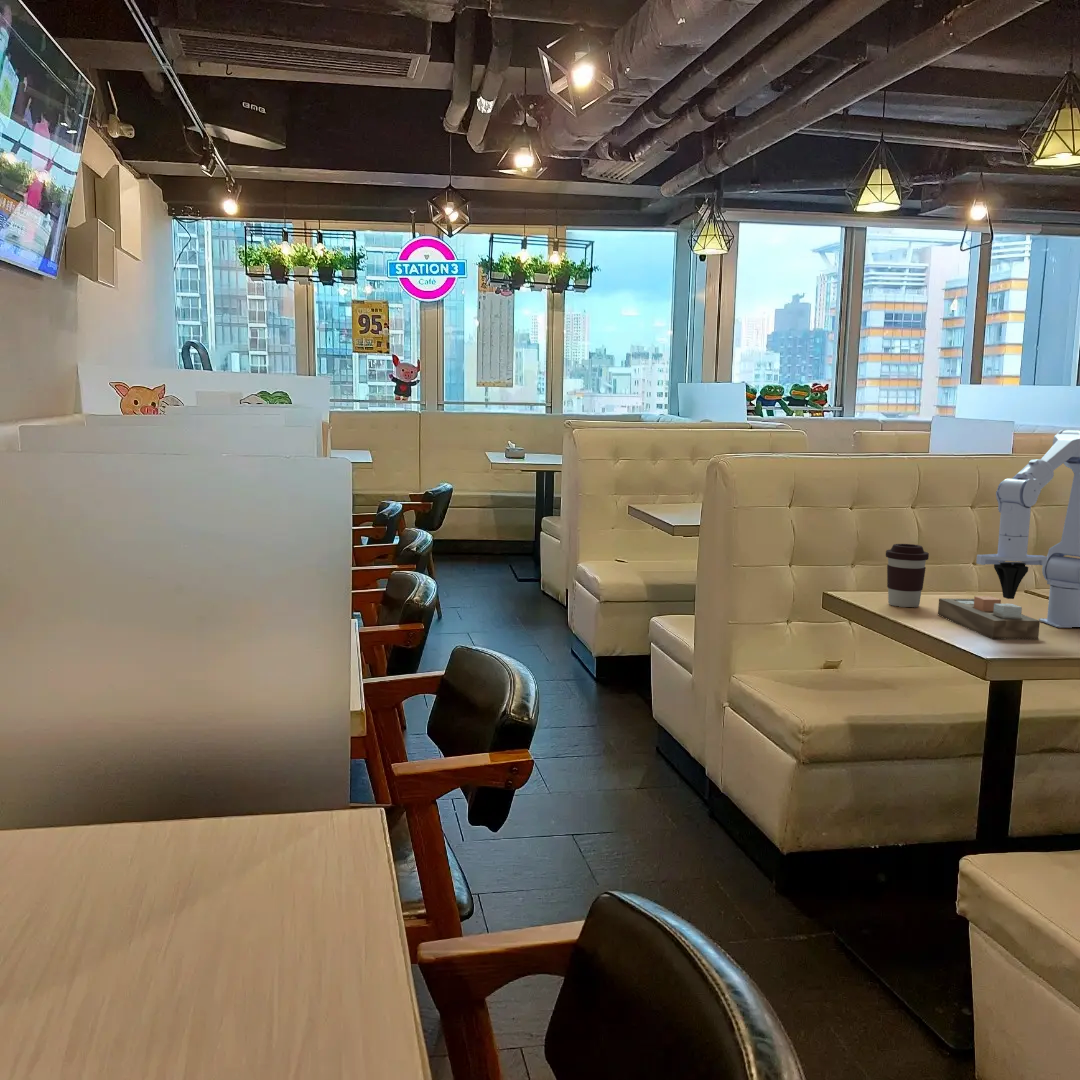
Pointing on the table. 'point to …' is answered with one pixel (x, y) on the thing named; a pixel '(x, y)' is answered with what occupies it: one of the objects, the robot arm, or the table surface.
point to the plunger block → (988, 621)
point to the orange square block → (985, 603)
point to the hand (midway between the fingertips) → (1008, 598)
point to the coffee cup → (905, 574)
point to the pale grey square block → (1007, 611)
